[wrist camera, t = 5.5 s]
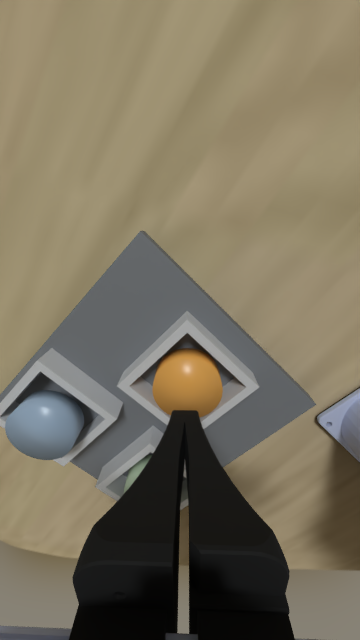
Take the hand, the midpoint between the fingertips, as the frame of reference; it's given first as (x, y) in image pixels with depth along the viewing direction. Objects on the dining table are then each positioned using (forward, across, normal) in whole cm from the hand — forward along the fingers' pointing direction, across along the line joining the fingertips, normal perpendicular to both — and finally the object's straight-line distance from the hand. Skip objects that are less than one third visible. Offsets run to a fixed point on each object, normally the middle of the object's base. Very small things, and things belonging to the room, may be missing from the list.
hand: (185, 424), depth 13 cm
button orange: (+5, 0, 0) cm, 5 cm away
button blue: (+4, +10, +3) cm, 11 cm away
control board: (+6, +3, +3) cm, 8 cm away
